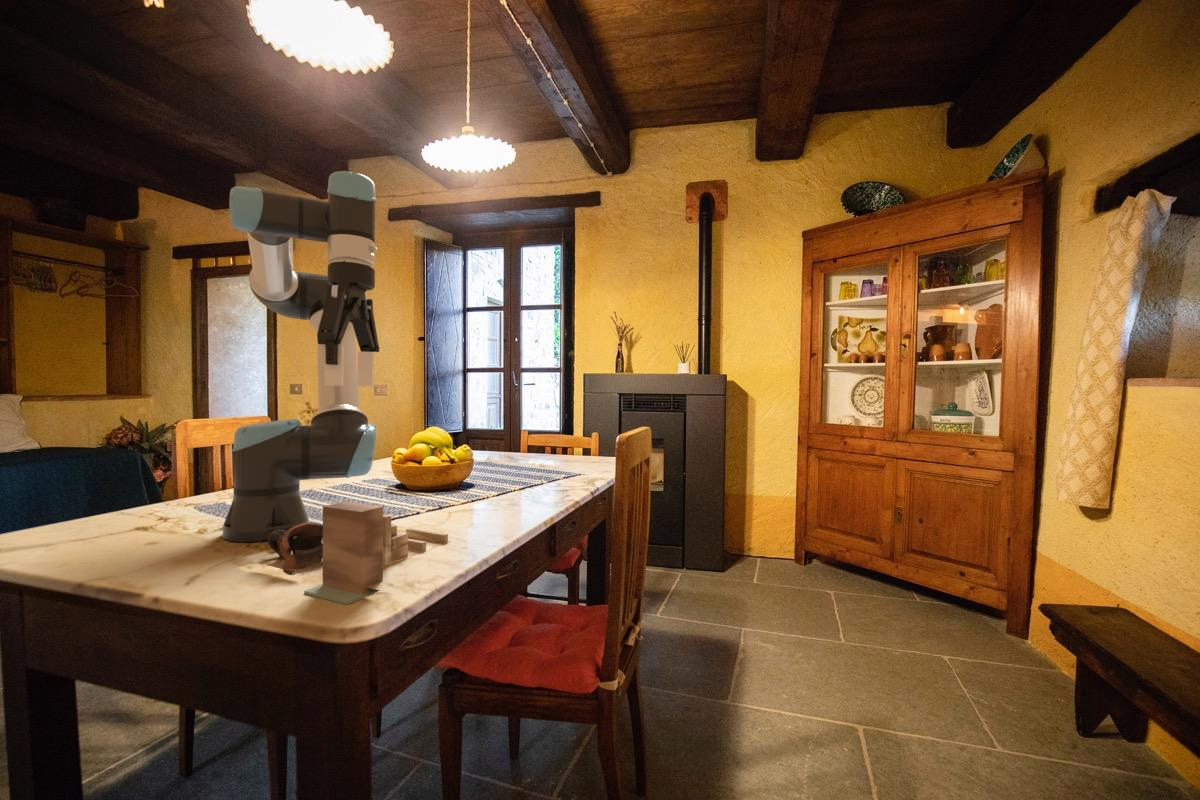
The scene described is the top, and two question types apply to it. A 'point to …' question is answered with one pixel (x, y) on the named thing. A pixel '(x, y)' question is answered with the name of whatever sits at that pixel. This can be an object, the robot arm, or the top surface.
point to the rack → (407, 542)
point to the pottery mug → (298, 545)
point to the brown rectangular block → (352, 546)
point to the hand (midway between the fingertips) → (351, 386)
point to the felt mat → (337, 594)
